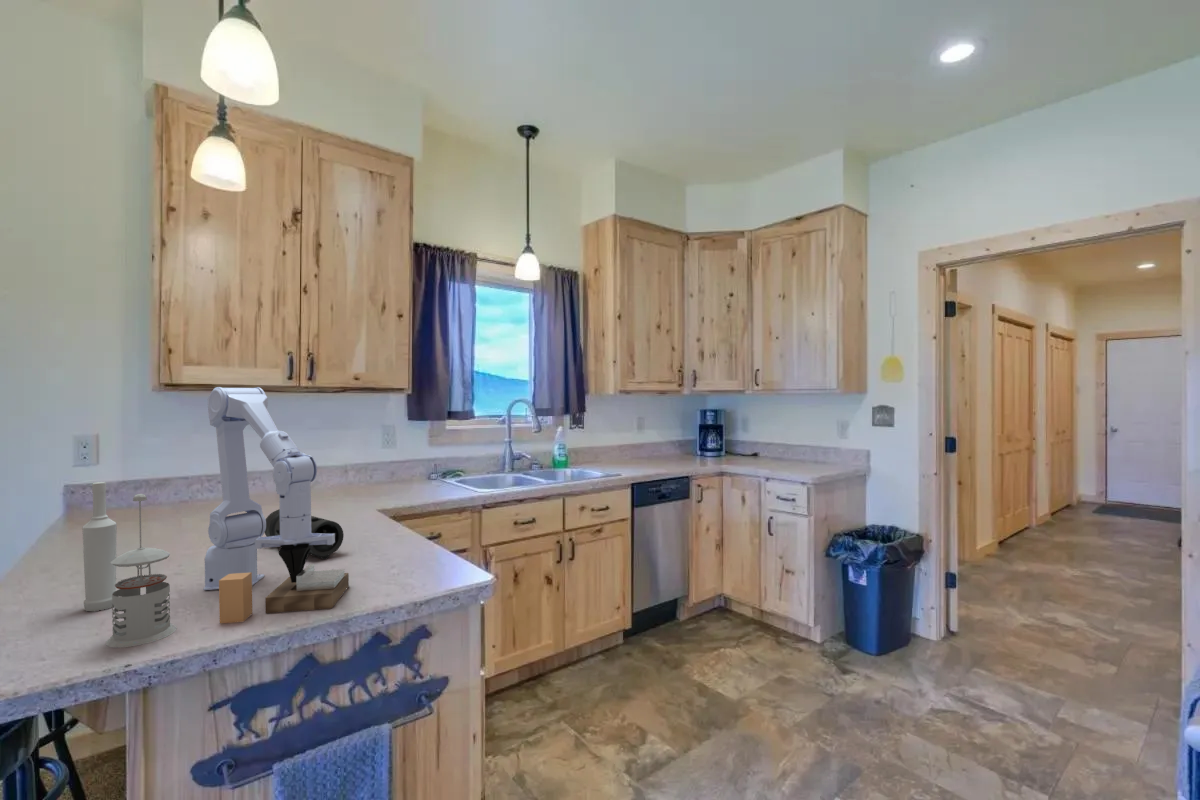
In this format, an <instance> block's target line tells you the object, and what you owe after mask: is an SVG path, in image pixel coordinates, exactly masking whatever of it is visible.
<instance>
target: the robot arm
mask: <svg viewBox="0 0 1200 800" xmlns="http://www.w3.org/2000/svg"><path fill="white" fill-rule="evenodd" d="M268 404H269V400H268V396H267V393H266V392H265V391H264V389H262V388H261V387H259V386H257V387H221V386H217V387H214V388H213V390H212V391H211V392H210V394H209V396H208V398H207V410H208V411H207V412H208V419H209V425H210V426H212V427H214V428H215V432H216V442H217V452H218V461H219V473H220V474H219V475H220V482H221V483H220V484H221V494H222V502H221V503H220V504H219V505H217V506H216V507H215V508H214V509H213V510H212V511H211V512H210V513H209V525H208V528H207V529H208V530H207V532H208V538H209V540H210V543H212V544H213V545H211V546H209V548H207V551H206V553H205V556H204V587H203V591H211V590H219V580H220V579H222V578H223V577H225V576H226V575H228V574H234V573H250V572H252V587H253V586H254V585H255V584H256V583H259V581H260V580H261V579H263V578H264V577H265V574H264V573H261V574H259V573H258V550H260V549H263V548H279V549H280V550H278V555H279V557H280V558H281V560H282V561H283V562H284V565H285V566H286V569H287V571H288V573H289V577H290V578H291V583H294V582H296V576H297V575H298V574H299V573H300V572H301V571H303V570H304V569H305V564H306V562H307V559H308V557H309V555H310V554H309V553H310V550H311V549H312V546H313V545H322V544H327V545H332V544H334V543H335V533H332V534H325V533H311V516H312V485H311V484H312V483H313V481H315V479H316V477H317V474H318V467H317V463H316V461H315V458H314V456H312V455H310V454H306V453H305V452H302V451H301V450H300V449H299V447H298V446H297V445H296V443H295V442H294V441H293V439H292V437H290V435H289V433H288V432H286V431H283V430H279V429H278V427H277V425H276V423H275V422H274V419H273V418H272V416H271V414H270V413H269V410H268ZM247 426H250V427H251V428H252V430H253V431H255V433H256V434H257V436H259V438H261V440H260V442H259V448H260V449H261V451H262V452H263V454H264V455H265V456H266V458H267V460H268V461H269V463H270V464H271V465H272V467H273V470H271V471H272V472H271V473H272V474H271V475H272V478H273V482H274V484H275V492H276V494H277V495H278V498H279V501H278V502H279V509H280V535H277V536H269V537H267V536H264V535H265V530H266V520H265V519H266V517H265V515H264V512H263V508H262V504H260V503H258V502H257V501H254V500H253V499H251V498H250V488H249V480H248V479H249V477H248V469H247V467H248V466H247V460H246V459H247V458H246V449H245V439H244V430H245V429H246V427H247ZM242 512H243V513H242ZM236 513H237V514H236ZM238 513H239V514H238ZM231 514H233V515H231Z"/></svg>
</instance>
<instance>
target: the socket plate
mask: <svg viewBox="0 0 1200 800" xmlns="http://www.w3.org/2000/svg"><path fill="white" fill-rule="evenodd" d="M349 577H350V576H349V572H344V577H343V578H342V580H341V581H340V582H339V583H338V584H337V586H336V587H335V588H334V589H320V590H305V591H297V585H296V582H294V583H291V578H290V576H289V577H287V578H286V579H285V580H284V581H282V582H281V583H280V584H279V585H278V586H277V587H276V588H275V589H274V590H272V591H271V592H270V593H269V594H268V595H267V596H266V597H265V605H264V606H265V607H264V608H265V614H274V613H287V612H300V611H301V610H303V611H312V610H313V611H314V610H326V609H327V610H328V609H329V610H330V609H333V608H334V606H335V605H336V604H337V603H338V601H339V600H340V599H341V597H342V596H343V595H342V594H344V593H345V592H346V591H347V589H348V588H349V587H348V586H349ZM347 587H348V588H347ZM346 588H347V589H346ZM345 590H346V591H345ZM344 591H345V592H344ZM343 592H344V593H343ZM341 595H342V596H341ZM340 596H341V597H340ZM338 599H339V600H338ZM335 603H336V604H335ZM301 612H302V611H301Z"/></svg>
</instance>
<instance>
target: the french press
mask: <svg viewBox="0 0 1200 800" xmlns="http://www.w3.org/2000/svg"><path fill="white" fill-rule="evenodd" d="M147 500H148V499H147V495H145V494H144V493H138V494H135V495H134V496H133V498H132V501H133V502H138V508H139V512H138V515H139V517H138V519H139V524H138V526H139V547H138V548H136V549H130V550H128V551H126V552H124V553H122V554H120V555H118V556H116V558H115V559H114V560H113V561H111V563H112V564H113V565H114V566H116V567H119V568H127V567H135V568H136V570H137V576H132V577H127V578H124V579H121V580H120V581H117V582H116V584H115V587H116V591H115V592H114V593H113V594H112V603H113V605H112V608H111V610H112V612H111V613H112V614H111V615H112V616H111V617H112V621H111V622H112V623H111V624H112V634H111V636H110V637H109V638H108V639H107V640H106V641H105V642H106V643H105V644H107V645H106V646H107V647H110V648H130V647H136V646H142V645H145V644H150V643H153V642H156V641H158V640H161V639H164V638H166V637H167V638H168V637H169V636H170V635H171V634H173V633H175V632H176V630H177V629H178V628H177V626H176V625H175V624H173V623H172V622H171V615H170V614H171V608H170V607H171V601H170V597H171V595H170V592H171V590H170V583H169V582H166V581H165V580H167V578H168V576H167V575H166V574H162V573H152V572H151V564H155V563H158V562H162V561H164V560H167V559H168V558H169V557H170V555H171V553H170V552H169V551H167V550H164V549H162V548H155V547H142V502H143V501H147ZM143 565H146V566H143ZM147 568H148V574H144V575H143V572H142V570H143V569H147ZM142 588H143V589H144V588H145V593H144V594H141V589H142ZM118 612H123V613H118ZM119 619H123V620H120V621H119Z"/></svg>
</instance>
